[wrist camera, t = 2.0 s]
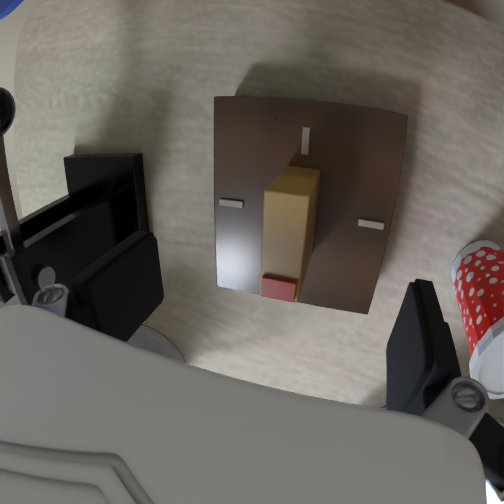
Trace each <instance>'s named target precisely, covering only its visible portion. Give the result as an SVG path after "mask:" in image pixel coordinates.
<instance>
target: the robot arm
mask: <svg viewBox="0 0 504 504" xmlns="http://www.w3.org/2000/svg"><path fill="white" fill-rule="evenodd" d="M70 284H71V288H72V289H71V290H70V291H68V288H67V287H66V286H65V285H63V284H51V285H48V286H45V287H43V288H42V289H40V290H39V291H38V292H37V293H36V294H35V296H34V298H33V301H32V304H30V305H11V306H5V307H3V308H1V309H0V504H504V427H503V426H502V425H500V424H499V423H498V422H497V421H496V420H495V419H494V418H492V417H491V416H490V415H489V414H488V413H487V412H486V411H487V409H488V406H489V396H488V393H487V391H486V389H485V388H484V386H483V385H482V384H481V383H479V382H478V381H476V380H475V379H473V378H469V377H461V372H460V367H459V363H458V359H457V354H456V350H455V346H454V342H453V339H452V335H451V331H450V328H449V325H448V323H447V322H444V319H443V315H442V312H441V308H440V305H439V302H438V298H437V295H436V292H435V289H434V286H433V283H432V281H427V280H421V279H416V280H415V282H410V283H409V285H408V288H407V291H406V294H405V297H404V300H403V303H402V306H401V308H400V311H399V314H398V317H397V319H396V322H395V325H394V327H393V330H392V333H391V335H390V338H389V340H388V344H387V349H386V358H387V396H386V410H385V409H379V408H374V407H368V406H362V405H356V404H350V403H344V402H338V401H333V400H328V399H323V398H318V397H313V396H308V395H303V394H298V393H294V392H289V391H285V390H280V389H276V388H272V387H268V386H264V385H260V384H256V383H252V382H248V381H244V380H240V379H237V378H233V377H229V376H226V375H222V374H219V373H215V372H212V371H209V370H205V369H202V368H199V367H196V366H192V365H189V364H186V363H183V362H180V361H177V360H174V359H171V358H168V357H165V356H162V355H159V354H156V353H154V352H151V351H148V350H145V349H143V348H140V347H137V346H134V345H132V344H129V343H126V342H127V341H128V340H129V339H130V338H131V337H132V335H133V334H134V333H135V332H136V331H137V330H138V329H139V327H140V326H141V325H142V324H143V323H144V322H145V321H146V319H147V318H148V317H149V316H150V315H151V314H152V313H153V312H154V310H155V309H156V308H157V307H158V306H159V305H160V304H161V302H162V301H163V298H164V291H163V284H162V277H161V270H160V262H159V254H158V246H157V239H156V238H155V237H154V235H153V234H152V233H151V232H145V231H139V230H138V231H136V232H135V233H133V234H132V235H130V236H129V237H128V238H126V239H125V240H123V241H122V242H121V243H119V244H118V245H116V246H115V247H114V248H112V249H111V250H109V251H108V252H107V253H105V254H104V255H103V256H101V257H100V258H99V259H97V260H96V261H94V262H93V263H92V264H90V265H89V266H88V267H86V268H85V269H84V270H83V271H81V272H80V273H79V274H77V275H76V276H75V277H73V278H72V279H71V280H70Z"/></svg>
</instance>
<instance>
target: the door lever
mask: <svg viewBox="0 0 504 504" xmlns="http://www.w3.org/2000/svg"><path fill="white" fill-rule="evenodd" d="M15 111H16V107H15V101H14V98H13V96H12V95H11V93H10V92H9V91H7V90H6V89H4V88H1V87H0V228H1V232H2V235H3V239H4V242H5V245H6V249H5V250H3V251H2V252H0V268H1V271H2V273H3V276H4V279H5V282H6V284H7V287H8V289H9V291H10V292H12V293H14V294H15V295H17V293H16V290H15V288H14V285H13V282H12V280H11V277H10V274H9V271H8V269H7V266H6V263H5V260H4V257H3V256H4V255H5V254H6V253H8V252H9V251H11V250H12V249H14V248H15V247H17V246H19V245H20V244H22V243H23V242H25V241H26V240H23V238H22V234H21V230H20V226H19V222H18V218H17V214H16V210H15V205H14V201H13V196H12V191H11V185H10V181H9V174H8V168H7V161H6V154H5V146H4V138H3V135H4V134H5V133H6V132H7V131H8V129H9V128H10V126H11V125H12V123H13V120H14V117H15ZM17 296H18V295H17Z"/></svg>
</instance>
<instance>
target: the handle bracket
mask: <svg viewBox="0 0 504 504" xmlns="http://www.w3.org/2000/svg"><path fill="white" fill-rule="evenodd" d="M64 166H65V174H66V180H67V187H68V193H69V194H68V195H66V196H64V197H62V198H60V199H58V200H56V201H54V202H52V203H50V204H48V205H46V206H44V207H42V208H40V209H39V210H37V211H35V212H33V213H31V214H29V215H28V216H26V217H24V218H22V219H20V220H19V221H18V222H19V226H20V230H21V234H22V238H23V240H26V241H25V242H23V243H22V244H20V245H19V246H17V247H15V248H14V249H12V250H11V251H9V252H8V253H6V254H5V255H4V256H3V257H4V260H5V263H6V266H7V269H8V271H9V274H10V277H11V280H12V282H13V285H14V288H15V290H16V293H17V295H18V297H19V300H20V303H21V305H30V304H32V301H33V298H34V296H35V294H36V293H37V292H38V291H39V290H40V289H42V288H43V287H45V286H48V285H51V284H63V285H65V286H66V287H67V288H68V291H70V290H71V289H72V288H71V284H70V280H71V279H72V278H73V277H75V276H76V275H77V274H79V273H80V272H81V271H83V270H84V269H85V268H86V267H88V266H89V265H90V264H92V263H93V262H94V261H96V260H97V259H99V258H100V257H101V256H103V255H104V254H105V253H107V252H108V251H109V250H111V249H112V248H114V247H115V246H116V245H118V244H119V243H121V242H122V241H123V240H125V239H126V238H128V237H129V236H130V235H132V234H133V233H135V232H136V231H138V230H139V231H145V232H149V223H148V214H147V205H146V195H145V183H144V171H143V157H142V154H141V153H106V154H73V155H70V156H67V157H64ZM5 249H6V245H5V242H4V239H3V235H2V232H1V231H0V252H2V251H3V250H5ZM13 296H15V294H14V293H12V292H10V291H9V289H8V287H7V284H6V282H5V279H4V276H3V273H2V271H1V268H0V301H1V302H3V303H6V302H7V301H8V300H10V299H11V298H12V297H13Z"/></svg>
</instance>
